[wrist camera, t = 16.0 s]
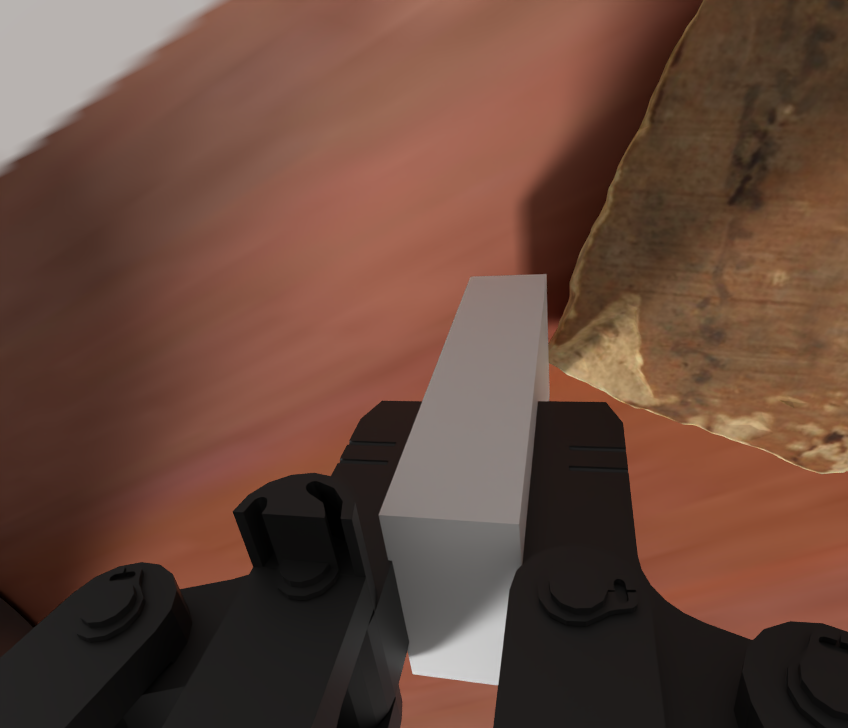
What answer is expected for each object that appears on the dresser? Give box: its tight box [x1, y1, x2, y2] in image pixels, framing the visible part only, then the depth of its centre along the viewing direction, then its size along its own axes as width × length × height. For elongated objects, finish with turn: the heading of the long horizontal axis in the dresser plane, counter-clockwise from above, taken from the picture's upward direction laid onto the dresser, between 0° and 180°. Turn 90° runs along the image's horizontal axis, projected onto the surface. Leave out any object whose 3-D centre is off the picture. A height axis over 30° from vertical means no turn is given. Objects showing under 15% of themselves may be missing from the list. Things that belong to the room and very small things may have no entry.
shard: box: [548, 0, 848, 474], centre depth 10 cm, size 11×8×2 cm
